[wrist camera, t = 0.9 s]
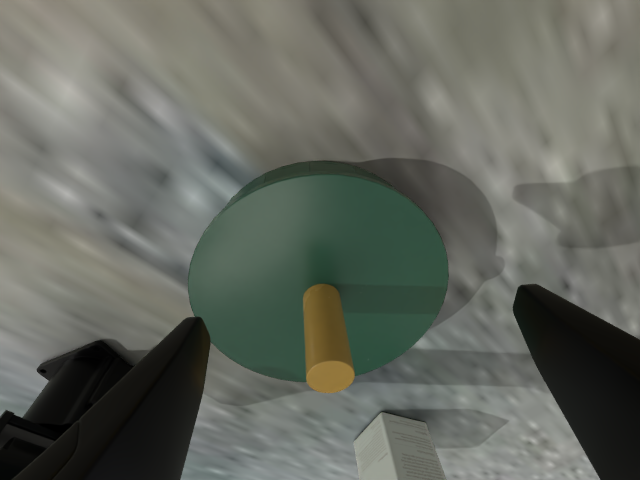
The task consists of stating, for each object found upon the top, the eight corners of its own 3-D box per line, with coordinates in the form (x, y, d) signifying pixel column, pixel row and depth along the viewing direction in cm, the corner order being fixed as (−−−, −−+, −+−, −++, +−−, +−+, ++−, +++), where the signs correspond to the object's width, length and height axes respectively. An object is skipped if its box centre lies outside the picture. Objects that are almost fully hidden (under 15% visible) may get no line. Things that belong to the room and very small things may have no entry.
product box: (351, 440, 37) (363, 520, 31) (381, 409, 35) (400, 489, 28) (396, 451, 39) (416, 529, 33) (427, 421, 37) (456, 500, 30)
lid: (269, 393, 28) (262, 493, 22) (135, 238, 20) (64, 325, 14) (463, 324, 25) (519, 414, 19) (401, 115, 17) (461, 153, 11)
